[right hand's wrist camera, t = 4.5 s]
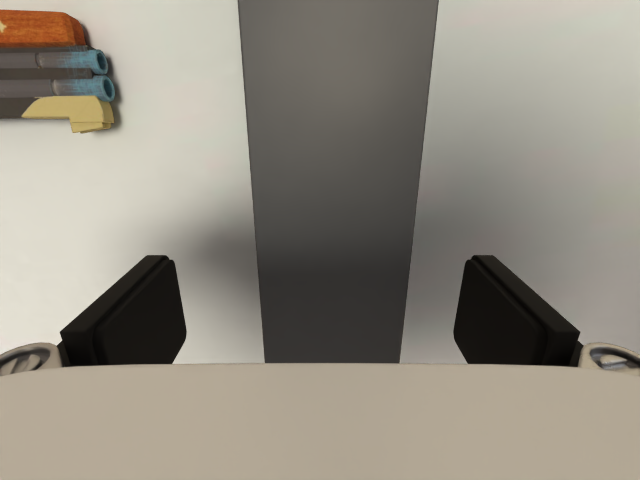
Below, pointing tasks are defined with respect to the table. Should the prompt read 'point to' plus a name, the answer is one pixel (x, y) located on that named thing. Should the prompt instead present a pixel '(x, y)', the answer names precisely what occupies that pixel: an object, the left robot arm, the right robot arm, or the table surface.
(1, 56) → the toy gun
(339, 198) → the beam
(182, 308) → the right robot arm
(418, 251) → the table surface
